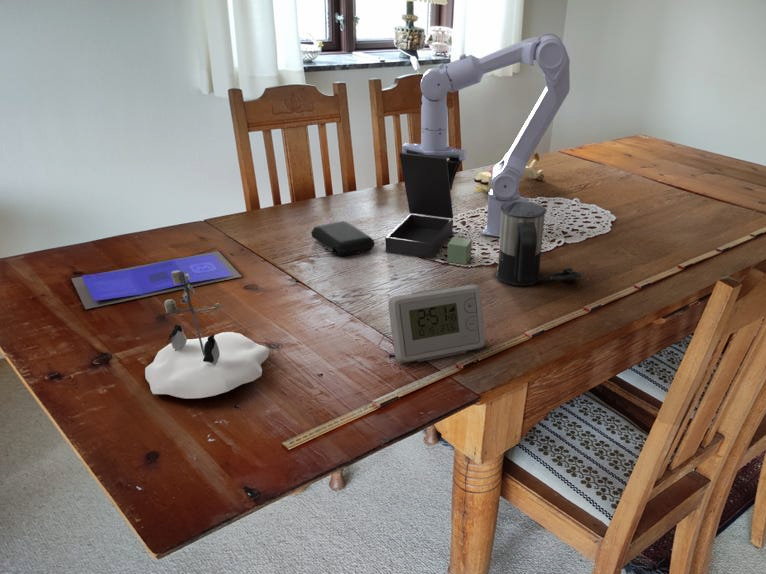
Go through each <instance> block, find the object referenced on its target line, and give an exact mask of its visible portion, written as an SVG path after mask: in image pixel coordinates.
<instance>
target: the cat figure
mask: <svg viewBox="0 0 766 574" xmlns="http://www.w3.org/2000/svg"><path fill="white" fill-rule="evenodd" d="M531 157H532V158H533V160H532V161H531V162H530V164H528V165H526V167H525V170H524V173H523V175H522V177H521V179H520V180H523V179H524V180H525V179H526V180H530V179H534V180H535V179H537V180H538V181H542V180H543V179H544V178H545V175H544V174H543V173H544V170H543V169H539V170H537V171H536V168H535V166H536V165H537V164H538V163H539V161H540V155H539V152H537V151H534V152H533V154H532V156H531ZM492 169H493V167H492ZM492 169H491V170H490V171H481V172H478V173H477V175H476V177H475V178H474V183H475V185H473V187H474V188H475V189H476V191H477V192H485V191H486V192H489V191H490V190H491V182H492V177H491V173H492Z"/></svg>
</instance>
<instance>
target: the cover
mask: <svg viewBox="0 0 766 574" xmlns="http://www.w3.org/2000/svg"><path fill="white" fill-rule="evenodd" d="M399 160H400V166H401V171H402V172H401V173H402V177H403V182H404V189H405V195H406V199H407V205H408V212H409V214H416V215H424V216H431V217H438V218H446V219H453V220H454V211H453V204H452V193H451V190H450V183H449V174H448V165H447V161H448V158H443V157H434V156H426V155H417V154H409V153H402V152H399Z"/></svg>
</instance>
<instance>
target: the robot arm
mask: <svg viewBox="0 0 766 574" xmlns="http://www.w3.org/2000/svg"><path fill="white" fill-rule="evenodd" d="M534 61H536V64H537V65H538V68H539V69H540V70H541V72H542V74H543V78H544V84H545V88H544V90H543V91H542V93H541V95H540V96H539V98H538V100H537V101H536V103H535V105H534V107H533V109H532V111H531V112H530V114H529V115H528V118H527V119H526V121H525V122H524V125H523V126H522V127H521V130H520V131H519V133H518V135H517V137H516V138H515V139H514V142H513V144H512V145H511V147H510V149H509V150H508V152H506V153H505V155H504V157H503V158H502V159H501V161H499V162H498V163H496V164H495V165H494V166H493V167H492V168H493V169H491V170H492V173H491V177H492V182H491V190H490V191H488V194H487V195H488V196H487V214H486V216H487V217H486V226H485V227H484V229H483V230H482V231H481V235H483V236H489V237H498V238H500V227H501V212H502V211H501V209H500V207H501V206H502V205H503V204H505V203H508V202H529V198H528V197H524V196H521V195H520V192H519V188H520V182H521V180H522V179H521V177H522V175H523V173H524V170H525V167H526V166H527V164H528V163H529V161H530V159H531V157H532V154H533V152H535V150H536V149H537V147H538V145H539V144H540V143H541V140H542V139H543V137H544V135H545V133H546V132H547V130H548V128H549V127H550V125H551V123H552V121H553V120H554V119H555V117H556V115H557V113H558V111H559V110H560V108H561V106H562V105H563V103H564V101H565V100H566V98H567V96H568V95H569V92H570V90H571V84H570V83H571V81H570V76H571V75H570V65H571V59H570V56H569V54H568V52H567V48H566V46H565V44H564V43H563V41H562V40H561V38H560V37H559V36H558V35H556V34H554V33H545V34H544V33H543V34H542V35H540V36H539V37H538V36H533V37H530V38H526V39H523V40H520V41H518V42H515V43H513V44H510V45H508V46H505V47H504V48H501V49H498V50H496V51H494V52H491V53H489V54H487V55H485V56H482V57H480V58H478V57H476V56H475V55H472V54H468V55H466V53H463V54H460V55H459V59H456V60H454V61H450V62H448V63H446V64H444V63H443V62H441V63H439V64H438V68H437V67H433V68H429V69H428V70H426V71H425V72H424V74H423V76H422V78H421V80H420V84H419V85H420V86H419V87H420V91H421V94H422V95H421V103H422V104H421V106H420V107H421V108H420V117H421V118H420V134H421V135H420V143H406V142H405V143H403V144H402V145H401V153H409V154H417V155H426V156H434V157H443V158H447V165H448V174H449V183H450V191H452V190H453V185H454V181H455V178H456V175H457V172H458V169H459V167H460V165H461V163H462V162H464V161H465V160H466V159H467V150H466V149H461V148H456V147H452V146H448V145H447V144H448V105H447V97H448V96H447V94H448V93H455V92H458V91H461V90H464V89H466V88H468V87H471V86H474V85H476V84H479V83H481V81H482V79H483V76H484V75H485V74H488V73H491V72H495V71H497V70H500V69H503V68H506V67H510V66H512V65H515V64H518V63H520V64H525V65H529V66H532V67H533V66H534V65H535V64H534Z"/></svg>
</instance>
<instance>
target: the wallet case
mask: <svg viewBox="0 0 766 574" xmlns="http://www.w3.org/2000/svg"><path fill="white" fill-rule="evenodd" d="M453 230H454V218H453V219H451V218H444V217H436V216H429V215H421V214H414V213H409V214H407V216H406V217H405V218H404V219H403V220H402V221H400V223H399V224H398V225H396V227H394V228H393V230H391V232H389V233H388V235H386V236H385V238H384V239H385V240H384V241H385V253H390V254H395V255H396V254H397V255H404V256H410V257H418V258H423V259H424V258H425V259H431V260H432V259H433V258H434V257H435V256H436V254H437V253H438V252H439V251H440V249H441V248H442V247H443V246H444V245H445V244H446V242H447V241H448V240H449V239H450V237H451V236H452V234H453Z"/></svg>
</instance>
